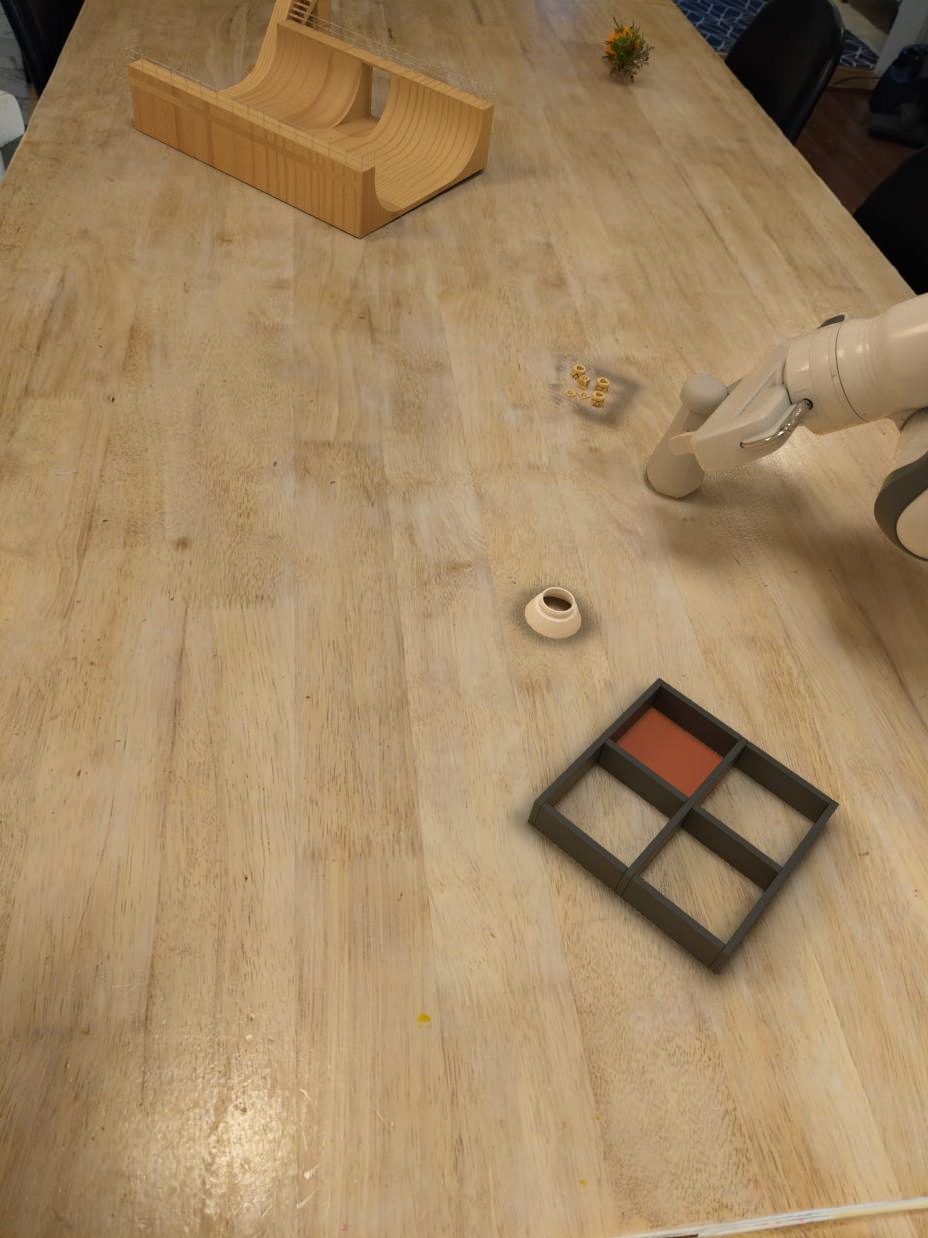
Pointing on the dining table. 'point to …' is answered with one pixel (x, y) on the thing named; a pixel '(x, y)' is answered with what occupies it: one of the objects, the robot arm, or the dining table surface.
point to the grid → (680, 807)
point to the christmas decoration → (626, 49)
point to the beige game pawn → (698, 405)
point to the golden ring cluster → (584, 382)
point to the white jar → (553, 615)
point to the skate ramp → (321, 124)
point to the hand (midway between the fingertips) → (693, 422)
